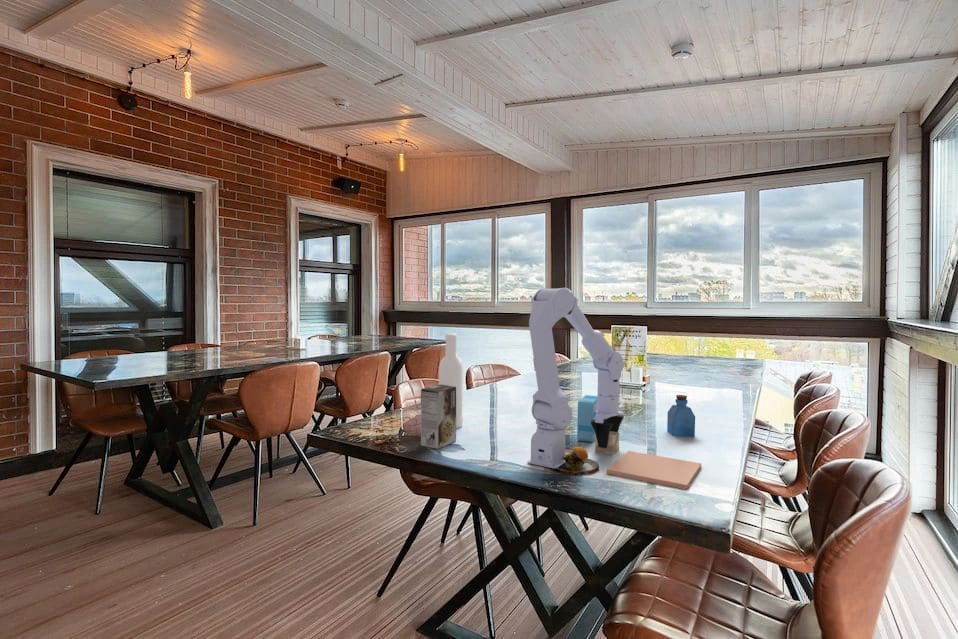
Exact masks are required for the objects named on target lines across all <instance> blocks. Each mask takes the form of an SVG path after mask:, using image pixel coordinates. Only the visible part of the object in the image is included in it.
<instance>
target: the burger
mask: <svg viewBox="0 0 958 639" xmlns="http://www.w3.org/2000/svg"><path fill="white" fill-rule="evenodd" d="M586 443H587V442H586ZM586 443H585V444H584V446H583V447H582V446H574V447H573V448H572V450H573V451H570V452H569V453H568V454H565V457H563V458H562V459H564V460H565V463H564V464H565V466H566V468H567V469H569V470H567V469H564V468H559V467H558V468H556V467H555V468H556V469H557V470H558V471H561V472H563V474H564V475H565V474H566V475H575V474H577V476H581V475H582V476H583V475H584V476H588V475H593V474H595V473H597V472H599V471H600V466H599V463H598V462H596V461H595V460H593V459H590V458H589V455H588V451H587V450H586V449H585V446H586ZM585 464H587V465H589V466H591V468H592V469H590V470H589V469H588V470H582V469H583V468H584V466H585ZM580 470H581V471H580Z"/></svg>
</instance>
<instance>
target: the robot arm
mask: <svg viewBox="0 0 958 639" xmlns="http://www.w3.org/2000/svg"><path fill="white" fill-rule="evenodd" d="M530 301H531V311H530V316H529V320H528V325H529V326H528V327H529V333H530V334H529V335H530V340H531V349H532V357H533V363H534V369H535V377H536V378H535V379H536V384H537V391H535V393H534V394H533V395H532V405H531V416H532V418H534V420H535V424H536V431H535V432H534V433H533V435H532V437H531V439H530V459H528V460H527V464H530V465H531V464H532V465H535V466H541V467H545V468H550V469H556V468H559V467H561V466H562V465H564V464H565V460H564V459H562V458H563V457H565V456H566V429H568V426H569V424H570V423H571V421H572V418H573V411H572V407H571V406H570V405H569V402H568V397H567V395H566V394H565V393H564V392H563V390H562V389H561V386H560V379H559V372H558V364H557V356H556V349H555V343H554V342H555V340H554V334H553V327H554V326H555V324H556V323H557V322H558V321H559V320H561V319H562V318H565V319H566V320H567V322H569V323H570V325H571V326H572V327H573V328H574V329H575V330H576V332H577V333H578V334H579V335H580V336H581V338H582V339H581V344H582V346H583V347H584V348H585V350H586V351H587V352H588V353H589V355H590V356H591V358H592V364H593V367H594V369H596V370H597V395H596V396H597V410H596V415H595V420H592V421H591V425H592V427H593V429H594V431H595V434H596V438H597V442H598V446H599V447H601V448H607V445H608V439H609V433H610V431H612V432H618V433H619V429H620V427H621V424H622V422H623V420H624V418H625V416H624V411H620V408H621V407H620V380H621V378H622V372H623V370H624V367H625V363H626V362H625V361H624V358H623V356H622V355H621V354H620V353H619V352H617V351H615V350H614V349H613V346H612V344H611V345H610V343H609V342H608V341H607V339H606V337H604V336H605V334H604V332H603V331H599V330H597V329H593V327H592V326H591V324H590V323H589V320H588V319H587V317H586V316H585V314H584V313H583V311H582V309H581V308H580V306H579V305H578V298H577V297H576V296H575V295H574V293H573V291H572V289H569V288H568V287H561V288H540V289H538V290H537V291H536V292H535V294H533V296H532V297H531V299H530ZM555 467H556V468H555Z"/></svg>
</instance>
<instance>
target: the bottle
mask: <svg viewBox="0 0 958 639" xmlns="http://www.w3.org/2000/svg"><path fill="white" fill-rule="evenodd" d="M457 354H458V334H457V333H446V334H445V356H443V357H442V359H441V360H440V362H439V365H438V385H448V386H454V387H456V430H457V429H460V428H462V427H463V422H464V417H463V416H464V415H463V411H464V410H463V409H464V408H463V407H464V404H463V402H464V401H463V400H464V365H463V361H462V359H461V358H460V357H459V356H458V355H457Z"/></svg>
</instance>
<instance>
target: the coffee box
mask: <svg viewBox="0 0 958 639" xmlns="http://www.w3.org/2000/svg"><path fill="white" fill-rule="evenodd" d="M420 395H421V396H420V410H421V411H420V422H421V423H420V446H422V447H428V448H432V449H437V450H439V449H441V448H444V447H445V446H448V445H450V444H453V443H454V442H457V429H456V387H454V386H448V385H439V384H436V385H432V386H427V387H424V388H420Z"/></svg>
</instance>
